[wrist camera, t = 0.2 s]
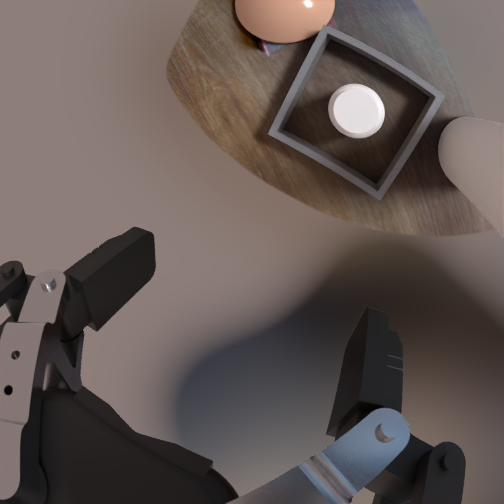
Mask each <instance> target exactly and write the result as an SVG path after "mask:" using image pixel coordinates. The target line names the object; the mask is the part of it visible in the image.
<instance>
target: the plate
mask: <svg viewBox="0 0 504 504" xmlns="http://www.w3.org/2000/svg"><path fill="white" fill-rule="evenodd" d="M235 9H236V14H237V17H238V19H239V21H240V22H241V24H242V25H243V26H244V27H245V28H246V29H247V30H248V31H249V32H250V33H252V34H253V35H255V36H257V37H258V38H261V39H263V40H265V41H269V42H273V43H281V44H289V43H297V42H301V41H304V40H307V39H309V38H311V37H313V36H315V35H317V34H318V33H319V32H320V30H321V29H322V27H323V25H326V26H327V25H328V23H329V22H330V20H331V19H332V16H333V14H334V10H335V0H235Z"/></svg>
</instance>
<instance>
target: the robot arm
mask: <svg viewBox="0 0 504 504" xmlns="http://www.w3.org/2000/svg"><path fill="white" fill-rule="evenodd" d="M155 268H156V262H155V244H154V235H153V233H152V232H149V231H146V230H144V229H141V228H138V227H133V228H131V229H130V230H128V231H127V232H125V233H124V234H122V235H120V236H117V237H114V238H111V239H109V240H107V241H106V242H104V243H103V244H102V245H100V246H99V248H96V249H94V250H93V251H92V253H89V254H88V255H86V256H85V257H84V258H82V259H81V260H79V261H78V262H77V263H75V264H74V265H73V266H71V267H70V268H69V269H67V270H66V271H65V272H63V273H62V272H60V271H58V270H48V271H45V272H43V273H41V274H39V275H38V276H36V277H35V276H31V275H27V274H25V271H24V268H23V265H22V263H20V262H18V261H10V262H7V263H5V264H3V265H1V266H0V307H1V306H2V305H4V304H6V306H7V308H8V310H9V312H10V314H11V316H10V317H8V318H7V319H6V321H4V322H3V323H2V325H0V504H350V503H351V501H352V498H353V496H354V495H356V494H357V493H358V492H359V491H360V490H361V489H363V488H364V487H365V488H367V489H368V490H370V491H372V492H374V493H375V496H374V500H373V503H372V504H461V501H462V494H463V486H464V477H465V466H466V461H465V456H464V453H463V451H462V450H461V448H459V446H458V445H456V444H455V443H452V442H442V443H440V444H439V445H437V446H435V447H433V446H431V445H429V444H427V443H425V442H424V441H422V440H420V439H418V438H416V437H415V436H413V435H412V434H411V433H410V428H409V425H408V422H407V420H406V419H405V418H404V416H403V415H402V414H401V408H402V384H403V383H402V382H403V372H402V369H403V361H402V359H403V346H402V343H401V341H400V338H399V336H398V334H397V332H394V331H391V330H389V329H388V328H389V327H388V326H389V325H388V321H389V319H388V313H386V312H383V311H380V310H377V309H374V308H370V307H367V308H366V309H365V310H364V312H363V314H362V316H361V318H360V319H359V321H358V323H357V325H356V327H355V329H354V331H353V333H352V334H351V336H350V338H349V340H348V342H347V345H346V348H345V352H344V356H343V362H342V367H341V372H340V377H339V382H338V386H337V392H336V396H335V400H334V404H333V409H332V413H331V417H330V421H329V425H328V429H327V433H326V435H330V436H334V437H335V441H334V442H333V443H332V444H331V445H329V446H328V447H327V448H326V449H324V450H322V451H321V452H319V453H318V454H316V455H315V456H312V457H310V458H309V459H307V460H305V461H304V462H302V463H301V464H299V465H297V466H296V467H294V468H292V469H291V470H289V471H288V472H286V473H284V474H283V475H281V476H279V477H278V478H275V479H274V480H272V481H270V482H268V483H266V484H265V485H263V486H261V487H259V488H257V489H255V490H253V491H251V492H249V493H247V494H245V495H243V496H241V497H239V496H238V494H237V492H236V491H235V490H234V488H233V487H232V486H231V484H230V483H229V482H228V481H227V480H226V479H225V478H224V477H223V476H222V475H221V474H219V473H218V472H217V471H216V470H214V469H213V468H212V467H213V461H212V460H209V459H207V458H205V457H203V456H200V455H198V454H196V453H194V452H192V451H190V450H187V449H185V448H183V447H181V446H179V445H177V444H175V443H171V442H167V441H163V440H159V439H156V438H152V437H149V436H146V435H142V434H139V433H137V432H135V431H134V430H132V429H131V428H130V427H129V425H128V424H126V422H125V421H124V420H123V419H122V418H121V417H120V416H119V415H118V414H117V413H116V412H115V410H114V409H113V408H112V407H111V406H110V405H109V404H108V403H106V402H105V401H103V400H102V399H100V398H99V397H98V396H96V395H95V394H93V393H92V392H91V391H89V390H88V389H86V388H85V387H84V386H83V385H82V381H81V361H82V351H83V342H84V331H83V329H84V328H85V327H86V326H89V327H91V328H92V329H93V330H95V331H98V330H99V329H100V328H101V327H102V326H103V325H104V324H105V323H106V322H107V321H108V320H109V319H110V318H111V317H112V316H113V315H114V314H115V313H116V312H117V311H119V309H121V308H122V307H123V306H124V305H125V304H126V303H127V302H128V301H129V300H130V299H131V298H132V297H133V296H134V295H135V294H136V293H137V292H138V291H139V290H140V289H141V288H142V287H143V286H144V285H145V284H147V283H148V282H149V281H150V280H151V278H152V277H153V275H154V272H155Z"/></svg>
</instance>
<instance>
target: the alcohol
mask: <svg viewBox="0 0 504 504" xmlns="http://www.w3.org/2000/svg"><path fill="white" fill-rule="evenodd" d="M438 157H439V162H440V165H441V167H442V170H443V171H444V173H445V175H446V176H447V177H448V179H449V180H450V181H451V182H452V183H453V184H454V185H455V186H456V187H457V188H458V189H459V190H460V191H461V192H462V193H463V194H464V195H465V196H466V197H467V198H468V199H469V200H470V201H471V202H472V203H473V204H474V205H475V207H476V208H477V209H478V210H479V211H480V212H481V213H482V214H483V215H484V217H485V218H486V219H487V220H488V221H489V222H490V223H491V225H492V226H493V227H494V228H495V229H496V231H497V232H498V233H499V234H500V235H501V237H502V238H503V239H504V124H502V123H498V122H493V121H488V120H483V119H479V118H473V117H459V118H457V119H455V120H453V121H451V122H450V123H449V124H448V125H447V126H446V127H445V128H444V130H443V132H442V134H441V136H440V139H439V145H438Z"/></svg>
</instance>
